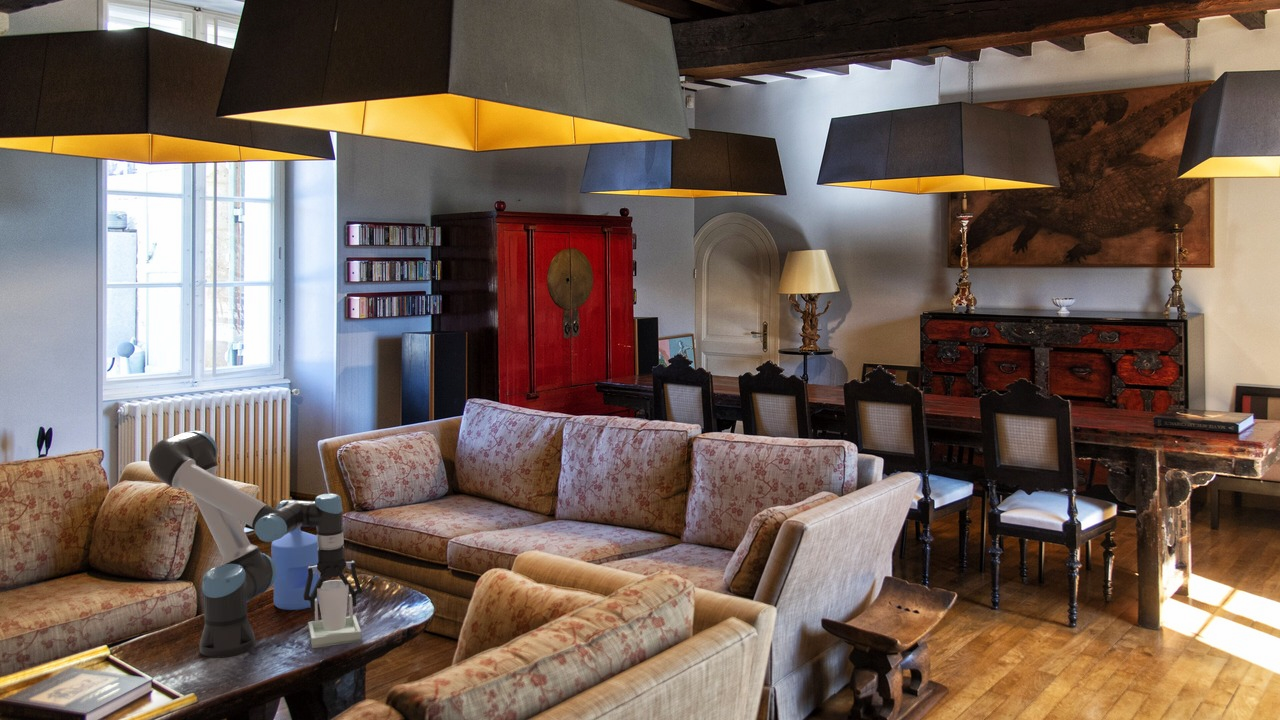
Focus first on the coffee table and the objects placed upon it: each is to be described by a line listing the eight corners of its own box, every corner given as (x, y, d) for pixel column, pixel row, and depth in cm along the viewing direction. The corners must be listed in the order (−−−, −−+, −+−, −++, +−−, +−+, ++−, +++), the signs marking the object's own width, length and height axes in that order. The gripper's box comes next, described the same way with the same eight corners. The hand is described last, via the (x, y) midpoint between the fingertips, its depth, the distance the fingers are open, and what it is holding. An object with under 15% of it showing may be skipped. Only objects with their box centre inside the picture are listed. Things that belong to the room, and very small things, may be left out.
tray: (312, 648, 310) (311, 638, 310) (308, 631, 323) (308, 621, 323) (361, 641, 315) (361, 631, 315) (355, 624, 328) (355, 615, 328)
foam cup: (345, 633, 314) (343, 590, 312) (313, 633, 314) (311, 590, 312) (354, 621, 323) (352, 579, 322) (324, 621, 324) (322, 579, 322)
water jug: (263, 607, 343) (258, 523, 340) (296, 591, 358) (292, 510, 354) (301, 613, 337) (297, 528, 334) (334, 597, 352) (330, 515, 348)
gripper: (292, 554, 308) (296, 628, 311) (370, 545, 316) (373, 617, 319) (291, 547, 315) (294, 619, 318) (367, 538, 323) (369, 609, 326)
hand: (334, 618), depth 318 cm, fingers closed on foam cup, 9 cm apart
